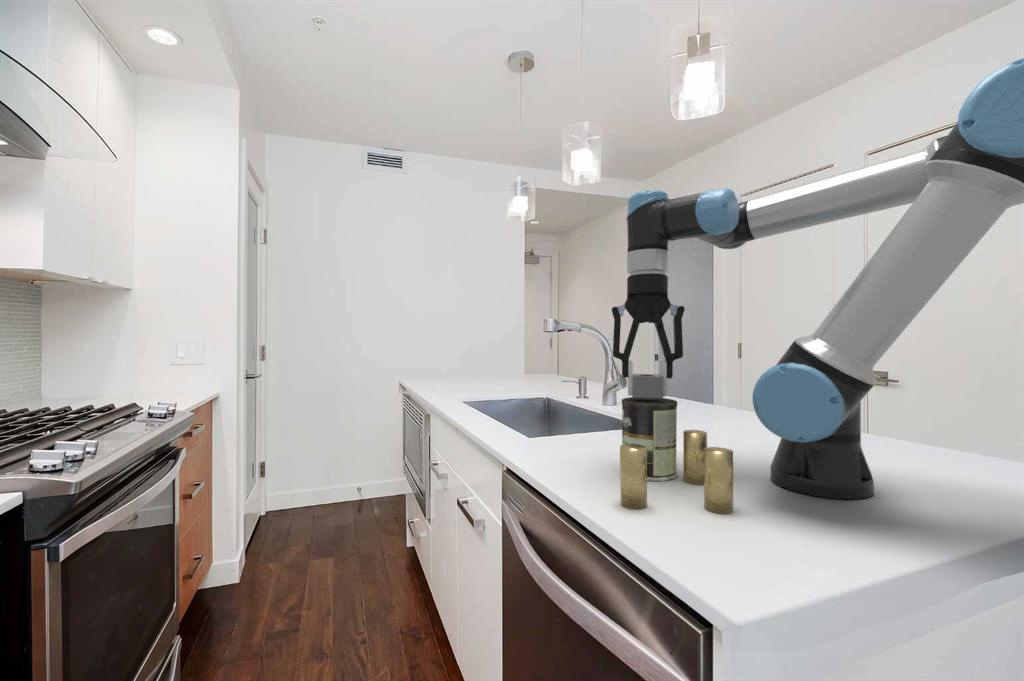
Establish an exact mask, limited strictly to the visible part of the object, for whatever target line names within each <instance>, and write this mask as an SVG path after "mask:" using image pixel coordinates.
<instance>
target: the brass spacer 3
mask: <svg viewBox="0 0 1024 681" xmlns="http://www.w3.org/2000/svg"><path fill="white" fill-rule="evenodd" d="M703 486H704V492H703V496H704V499H703V500H704V501H703V502H704V503H703V505H704V506H703V507H704V510H706V511H707V512H710V513H712V514H717V515H730V514H733V512H734V451H733V450H732V449H730V448H727V447H726V448H725V447H720V446H719V447H718V446H710V447H709V446H707V448H705V449H704V485H703Z"/></svg>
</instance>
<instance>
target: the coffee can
mask: <svg viewBox="0 0 1024 681" xmlns="http://www.w3.org/2000/svg"><path fill="white" fill-rule="evenodd" d="M677 407H678V401H677V400H675V399H671V398H665V397H663V399H661V398H634V397H632V396H629V397H625V398H622V399H621V408H622V412H621V413H622V414H621V416H622V417H621V418H622V420H621V421H622V424H621V426H622V427H621V430H622V433H621V434H622V435H621V436H622V437H621V439H622V444H621V445H624V444H639V445H643V446H645V447H646V451H647V482H665V481H670V480H671V481H672V480H674V479H675V478H677V477H678V476H677V475H678V474H677V420H678V419H677V415H678V414H677V413H678V412H677V410H678V408H677Z"/></svg>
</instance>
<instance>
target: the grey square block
mask: <svg viewBox="0 0 1024 681" xmlns="http://www.w3.org/2000/svg"><path fill="white" fill-rule="evenodd" d="M631 397H634V398H661V399H663V398H664V396H663V377H662V376H661V374H656V373H655V374H653V373H651V374H650V373H649V374H648V373H633V387H632V396H631Z"/></svg>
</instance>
